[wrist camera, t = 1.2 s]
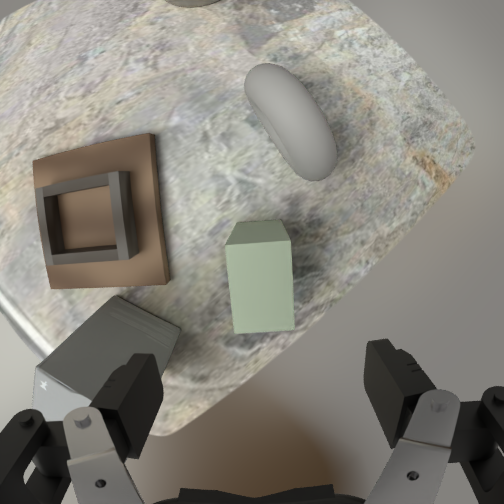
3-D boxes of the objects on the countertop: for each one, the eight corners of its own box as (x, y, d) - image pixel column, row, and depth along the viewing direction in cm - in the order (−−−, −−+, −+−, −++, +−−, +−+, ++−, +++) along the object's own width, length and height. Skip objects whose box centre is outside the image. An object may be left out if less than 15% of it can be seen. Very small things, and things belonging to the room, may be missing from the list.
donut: (239, 96, 27) (228, 58, 17) (271, 78, 26) (276, 33, 16) (297, 187, 28) (317, 193, 19) (329, 169, 28) (363, 165, 18)
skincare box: (100, 337, 33) (24, 423, 17) (117, 286, 31) (27, 363, 16) (165, 373, 33) (118, 479, 18) (189, 324, 32) (140, 432, 16)
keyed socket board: (40, 161, 28) (18, 161, 24) (154, 135, 28) (139, 129, 24) (58, 284, 31) (38, 296, 27) (170, 279, 31) (158, 293, 27)
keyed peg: (236, 222, 29) (224, 245, 20) (280, 219, 29) (290, 240, 19) (242, 285, 31) (234, 333, 21) (284, 282, 31) (294, 329, 21)
